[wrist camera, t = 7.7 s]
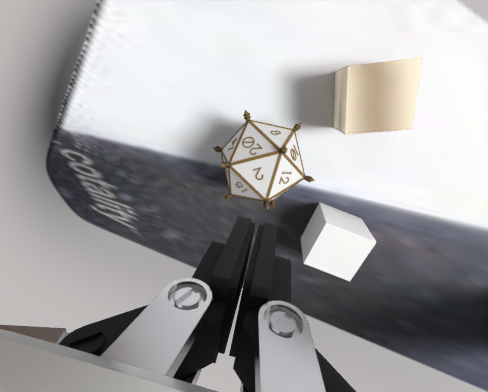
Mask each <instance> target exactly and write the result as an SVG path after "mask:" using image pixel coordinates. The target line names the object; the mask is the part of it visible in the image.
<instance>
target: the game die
mask: <svg viewBox="0 0 488 392" xmlns="http://www.w3.org/2000/svg"><path fill="white" fill-rule="evenodd" d="M249 114H250V113H248V112H247V111H246V110H245V113H244V115H243V116H244V117H245V118H244V119H246V123H245V124H244V125H243V126H242V127H241V128H240V129H239V130H238V132H237V133H236V134H235V135H234V136H233V137H232V138H231V139H230V140H229V142H228V143H227V144H226V145H225V146H224V147H223V148H220V147H218V146H217V147H214V149H215V151H216V152H221V155H222V159H223V162H222V164H221V165H220V166H222V167H223V169H225V173H226V178H227V182H228V187H229V192H230V193H229V194H227V196H225V201H227V200H230V198H231V197H232V196H237V197H242V198H248V199H253V200H258V201H263V202H264V203H263V204H264V206H263V207H265V208H266V209H267V210H268V209H269V207H270V205H269V204H270V202H269V201H271V205H272V206H274V207H275V205H276V203H277V202H276V201H275V200H274V199H276V198H277V197H279V196H280V195H282V194H283V193H285V192H286V191H287V190H289V189H290V188H292V187H293V186H295V185H296V184H298V183H299V182H300V181H302V180H303V179H305V180H306V181H309V182H311V181H315V180H314V179H313V178H312V177H310V176H305V173H304V169H303V165H302V160H301V156H300V151H299V147H298V143H297V138H296V134H295V131H297V130H298V129H299V128H300V126H301V123H299V124H296V125H295V126H294V128H293V129H289V128H285V127H280V126H276V125H271V124H266V123H262V122H257V121H253V120H250V115H249Z"/></svg>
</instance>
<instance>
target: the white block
mask: <svg viewBox="0 0 488 392" xmlns="http://www.w3.org/2000/svg"><path fill="white" fill-rule="evenodd" d="M300 239H301V247H302V255H303V263H304V264H306V265H309V266H312V267H314V268H317V269H319V270H322V271H324V272H327V273H330V274H332V275H335V276H337V277H340V278H342V279H345V280H348V281H351V279H352V278H353V276H354V275H355V273H356V272H357V270H358V269H359V267H360V266H361V264H362V263H363V261H364V260H365V258H366V257H367V255H368V254H369V252H370V251H371V250H372V248H373V247H374V245H375V244H376V241H375V239H374V237H373V236H372V234H371V233H370V231H369V230H368V228H367V227H366V225H365V223H364V222H363V220H362V219H361V218H358V217H356V216H353V215H351V214H348V213H346V212H343V211H340V210H338V209H335V208H333V207H330V206H328V205H325V204H322V203H320V202H319V204H318V206H317V208H316V210H315V212H314V214H313V215H312V217H311V219H310V221H309V223H308V225H307V227H306V229H305V231H304V232H303V234H302V236H301V238H300Z"/></svg>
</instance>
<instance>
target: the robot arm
mask: <svg viewBox="0 0 488 392" xmlns="http://www.w3.org/2000/svg"><path fill="white" fill-rule="evenodd" d="M277 227H278V225H275V224H271V223H266V222H265V225H260V224H259V228H258V231H257V235H256V239H255V243H254V247H253V251H252V255H251V259H250V262H249V266H248V270H247V274H246V278H245V282H244V287H243V291H242V296H241V301H240V306H239V311H238V315H237V320H236V325H235V330H234V335H233V340H232V344H231V349H230V354H229V355H230V356H233V357H236V358H235V362H234V367H233V369H234V370H235V372H236V374H237V375H238V377H239V378H240V380H241V382H242V383H241V388H240V392H356V391H355V390H354V389H353V388H352V387H351V386H350V385H349V384H348V383H347V382H346V380H344V378H343V377H342V376H341V375H340V374H339V373H338V372H337V371H336V370H335V369H334V368H333V367H332V365H331V364H330V363H329V362H328V361H327V360H326V359H325V358H324V357H323V356H322V355H321V354H320V353H319V352H318V350H317V349H316V348H315V347H314V343H313V339H312V336H311V332H310V327H309V324H308V321H307V319H306V317H305V315H304V314H303V313H302V312H301V311H300V310H299V309H298V308H297V307H295V306H294V305H292V304H291V260H289V259H285V258H281V257H277V256H274V255H275V246H276V237H277ZM254 228H255V223H251V219H249V218H244V217H240V216H238V218H237V221H236V223H235V225H234V227H233V229H232V232H231V234H230V236H229V238H228V240H227V243H226V244H223V243H219V242H215V241H213V242H212V243H211V245H210V246H209V248H208V250H207V252H206V253H205V255H204V257H203V259H202V261H201V262H200V264H199V266H198V268H197V270H196V271H195V273H194V275H193V277H192V278H182V279H178V280H175V281H173V282H171V283H170V284H169V285H167V286H166V287H165V288H164V289H163V290H162V291H161V292H160V293H159V295H158V296H157V297H156V298H155V299H154V300H153V301H152V302H151V303H150V304H149V305H147V306H143V307H141V308H137V309H134V310H132V311H128V312H125V313H122V314H119V315H116V316H113V317H110V318H107V319H104V320H101V321H98V322H95V323H92V324H89V325H86V326H83V327H81V328H79V329H76V330H74V331H73V332H71V333H67V332H66V328H49V327H29V326H13V325H0V392H217V391H214V390H210V389H207V388H204V387H201V386H197V385H195V384H196V382H197V380H198V378H199V376H200V372H201V369H202V368H204V367H206V366H208V365H209V364H211V363H215V362H216V359H217V355H218V352H219V353H222V354H224V353H225V349H226V345H227V342H228V338H229V334H230V330H231V327H232V323H233V319H234V315H235V311H236V308H237V304H238V300H239V296H240V292H241V289H242V285H243V281H244V277H245V272H246V267H247V262H248V257H249V252H250V247H251V243H252V238H253V233H254Z"/></svg>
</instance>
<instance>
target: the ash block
mask: <svg viewBox="0 0 488 392" xmlns="http://www.w3.org/2000/svg"><path fill="white" fill-rule="evenodd" d="M420 66H421V58H414V59H405V60H396V61H388V62H379V63H371V64H362V65H354V66H347V67H345V68H343V69H341V70H339V71H336V72H335V101H334V128H335V129H337V130H339V131H340V132H342V133H344V134H356V133H370V132H383V131H397V130H410V129H412V127H413V120H414V112H415V104H416V97H417V89H418V81H419V74H420Z"/></svg>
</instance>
